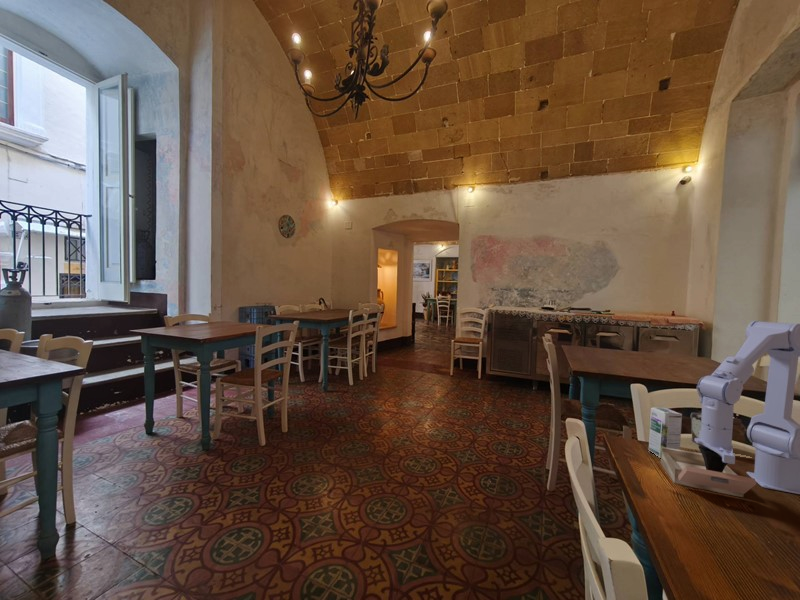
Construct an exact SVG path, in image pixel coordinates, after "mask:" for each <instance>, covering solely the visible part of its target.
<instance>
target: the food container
mask: <svg viewBox="0 0 800 600" xmlns="http://www.w3.org/2000/svg"><path fill="white" fill-rule="evenodd" d="M701 418H702V412H700V413H699V412H692V411H691V413H690V419H691V443H693V444H694V445H696V446H697V447H698V446H704V445H702V444H698V443H696V442H695V441H694V439H695V438H699V430H700V431H701Z"/></svg>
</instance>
